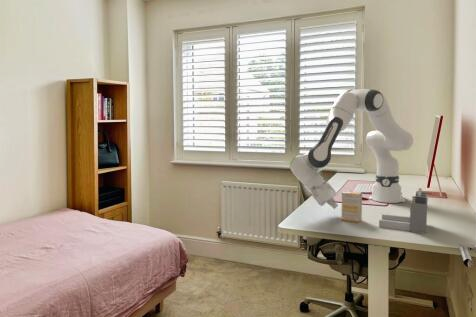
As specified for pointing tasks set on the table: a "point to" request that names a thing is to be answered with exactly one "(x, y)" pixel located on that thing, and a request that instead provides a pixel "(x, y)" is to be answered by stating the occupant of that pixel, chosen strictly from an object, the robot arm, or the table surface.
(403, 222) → the gray l-shaped stand
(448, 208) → the table surface
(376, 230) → the table surface
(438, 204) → the table surface
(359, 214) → the supplement box
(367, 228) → the table surface
